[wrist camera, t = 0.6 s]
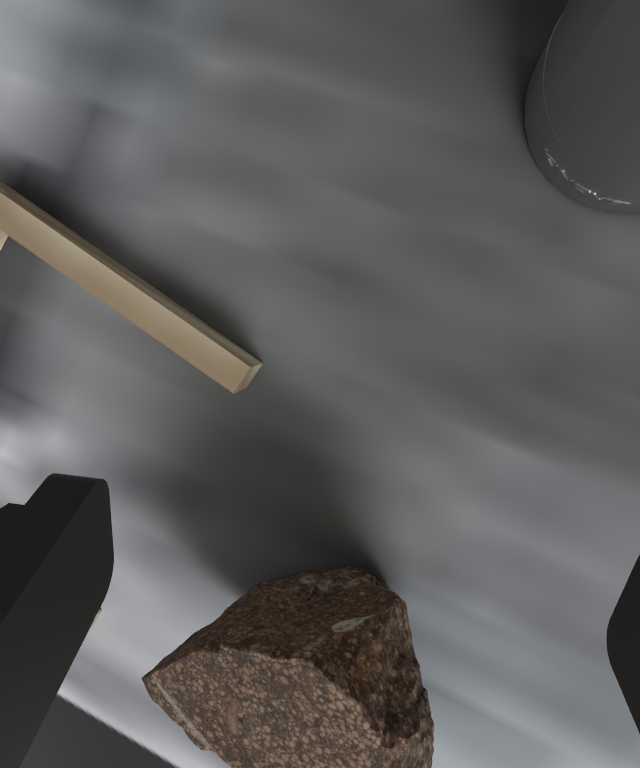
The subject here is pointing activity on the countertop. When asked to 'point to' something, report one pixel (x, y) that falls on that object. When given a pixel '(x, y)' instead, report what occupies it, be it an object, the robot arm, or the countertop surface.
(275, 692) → the rock
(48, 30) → the countertop surface
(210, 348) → the corral
